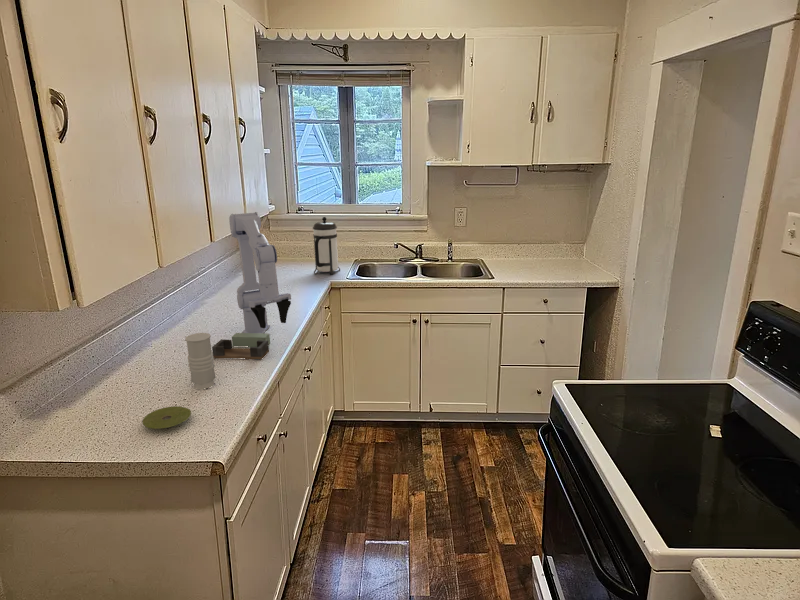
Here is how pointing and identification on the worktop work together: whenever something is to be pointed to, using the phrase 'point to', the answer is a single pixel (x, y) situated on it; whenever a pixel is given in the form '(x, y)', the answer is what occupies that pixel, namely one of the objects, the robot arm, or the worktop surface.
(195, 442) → the worktop surface
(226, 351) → the end cap cradle
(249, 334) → the stone
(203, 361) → the ribbed grey can
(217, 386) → the worktop surface
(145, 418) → the olive green disc
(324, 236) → the coffee press
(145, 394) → the worktop surface
